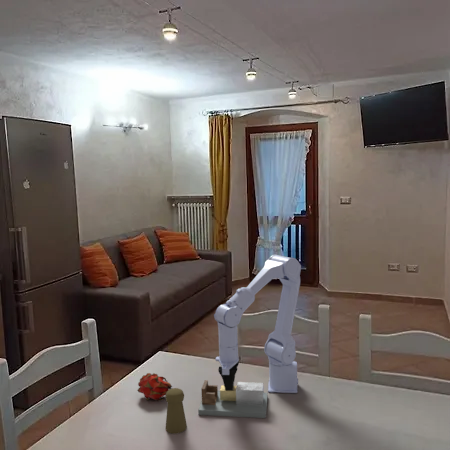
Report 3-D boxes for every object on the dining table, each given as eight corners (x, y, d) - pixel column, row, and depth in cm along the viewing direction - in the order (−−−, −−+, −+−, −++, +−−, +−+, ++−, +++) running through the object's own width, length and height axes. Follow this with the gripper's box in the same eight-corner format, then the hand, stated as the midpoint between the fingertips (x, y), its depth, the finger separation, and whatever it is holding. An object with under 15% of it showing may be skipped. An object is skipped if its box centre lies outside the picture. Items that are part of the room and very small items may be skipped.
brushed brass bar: (260, 396, 133) (259, 374, 132) (259, 402, 130) (259, 379, 129) (221, 395, 135) (221, 373, 134) (220, 400, 131) (219, 377, 131)
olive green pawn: (183, 434, 118) (181, 396, 117) (162, 432, 120) (160, 395, 119) (189, 422, 124) (187, 386, 123) (169, 420, 126) (167, 384, 124)
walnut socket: (217, 395, 136) (217, 380, 136) (214, 405, 131) (214, 389, 130) (205, 395, 137) (204, 380, 136) (202, 404, 131) (201, 388, 131)
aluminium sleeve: (263, 398, 134) (263, 382, 133) (262, 406, 129) (262, 390, 128) (238, 397, 135) (237, 381, 134) (236, 405, 130) (235, 389, 129)
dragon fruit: (137, 398, 142) (171, 408, 139) (128, 394, 135) (163, 404, 132) (146, 372, 146) (179, 381, 143) (138, 367, 139) (172, 376, 135)
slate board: (267, 397, 137) (267, 392, 137) (265, 418, 125) (265, 413, 125) (205, 394, 140) (205, 390, 140) (198, 414, 128) (198, 409, 128)
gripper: (218, 335, 138) (220, 375, 140) (211, 353, 124) (212, 398, 126) (240, 335, 137) (241, 376, 139) (235, 354, 123) (236, 399, 125)
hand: (229, 386), depth 132 cm, fingers closed on brushed brass bar, 2 cm apart
